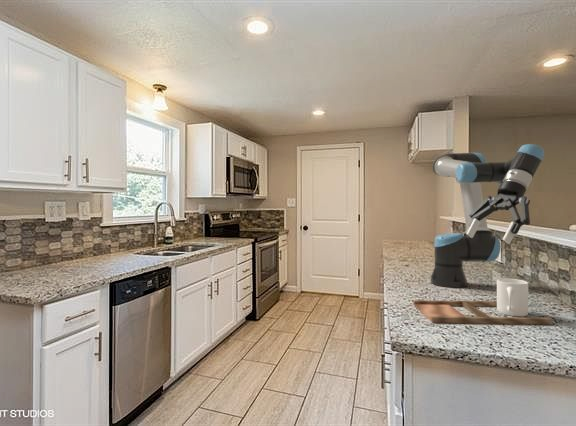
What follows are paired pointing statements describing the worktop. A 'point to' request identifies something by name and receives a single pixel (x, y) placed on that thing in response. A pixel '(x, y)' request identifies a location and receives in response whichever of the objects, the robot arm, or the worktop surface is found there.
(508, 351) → the worktop surface
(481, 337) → the worktop surface
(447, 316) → the flat wooden frame
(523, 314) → the mug
